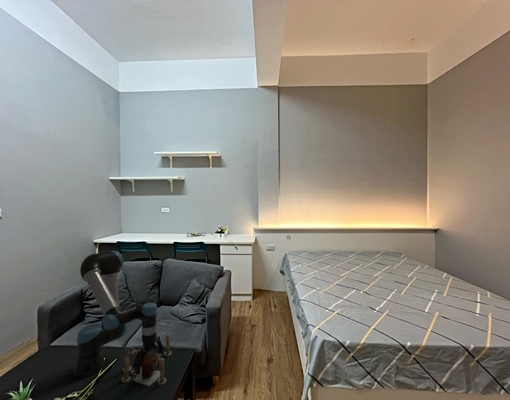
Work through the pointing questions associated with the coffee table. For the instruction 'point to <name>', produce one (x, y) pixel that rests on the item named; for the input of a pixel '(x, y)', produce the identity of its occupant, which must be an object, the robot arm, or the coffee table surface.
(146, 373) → the mug
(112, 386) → the coffee table surface
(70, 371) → the coffee table surface
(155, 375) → the pad
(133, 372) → the light wood frame
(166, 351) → the gate post far
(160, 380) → the gate post right
